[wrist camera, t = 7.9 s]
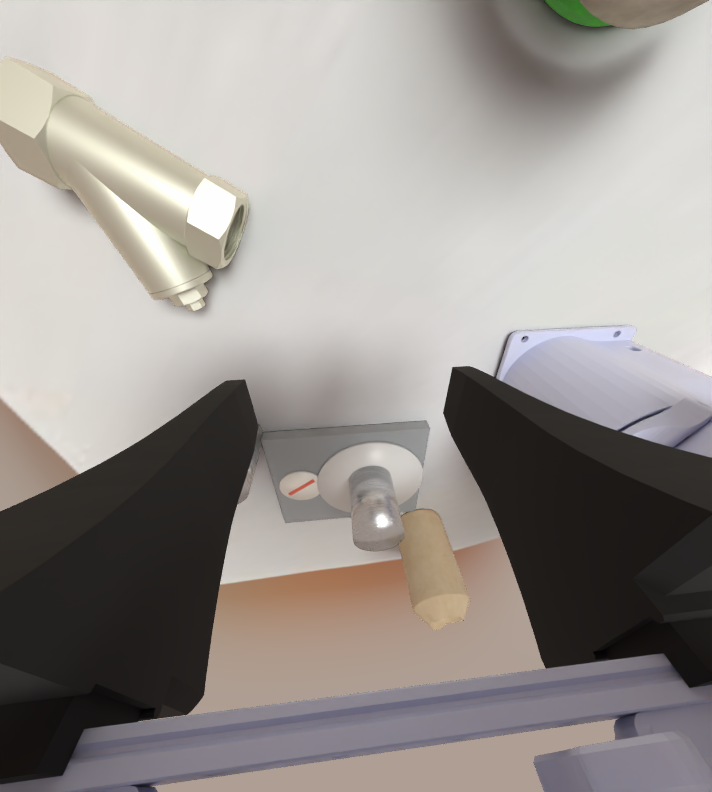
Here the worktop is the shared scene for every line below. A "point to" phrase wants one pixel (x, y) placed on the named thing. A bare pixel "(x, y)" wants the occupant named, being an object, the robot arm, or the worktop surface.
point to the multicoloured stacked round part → (622, 11)
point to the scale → (342, 465)
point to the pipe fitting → (123, 183)
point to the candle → (432, 570)
